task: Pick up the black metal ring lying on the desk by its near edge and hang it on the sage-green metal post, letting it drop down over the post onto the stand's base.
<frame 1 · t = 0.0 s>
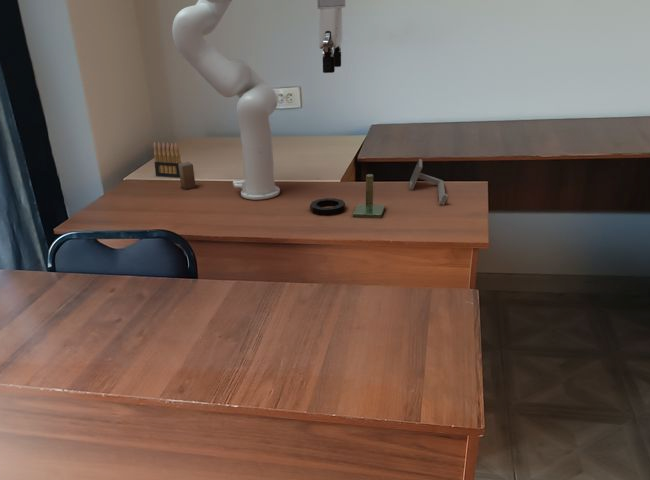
hand: (332, 69, 189), 37 cm above the table, tool pointing down, fingers open, 9 cm apart
post: (369, 212, 193), on the table
toilet paper hanger: (427, 193, 204), on the table
wooden block: (188, 187, 226), on the table
ammunition clip: (169, 176, 239), on the table
black ring: (327, 209, 197), on the table
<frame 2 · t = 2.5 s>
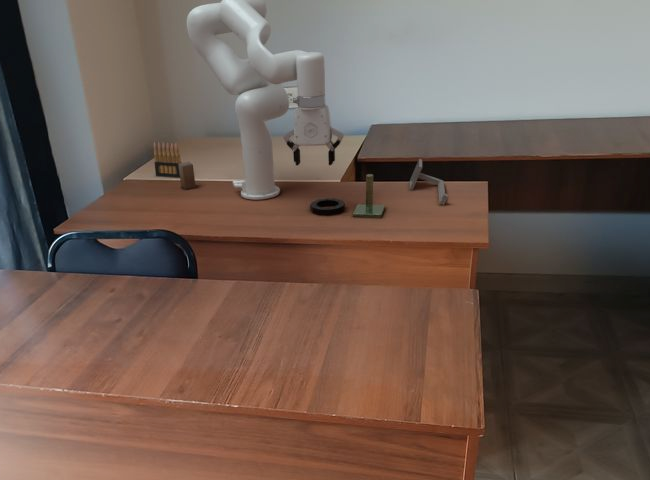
hand: (314, 164, 191), 13 cm above the table, tool pointing down, fingers open, 9 cm apart
nothing on the table moved.
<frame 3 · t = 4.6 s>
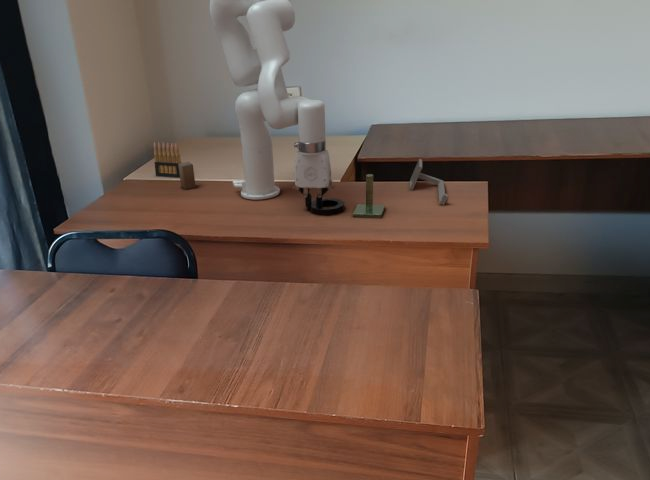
hand: (314, 208, 198), 0 cm above the table, tool pointing down, fingers closed on black ring, 2 cm apart
black ring: (327, 209, 197), on the table, touching gripper
everything else where it was.
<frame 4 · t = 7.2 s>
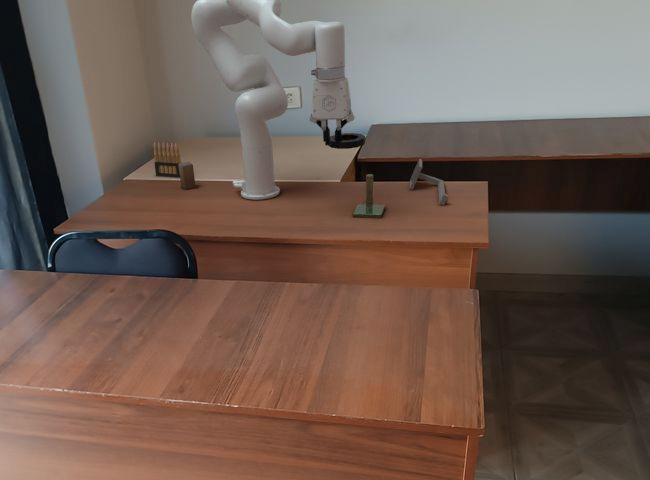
hand: (332, 143, 186), 19 cm above the table, tool pointing down, fingers closed on black ring
black ring: (346, 144, 185), point 19 cm above the table, touching gripper
everything else where it was.
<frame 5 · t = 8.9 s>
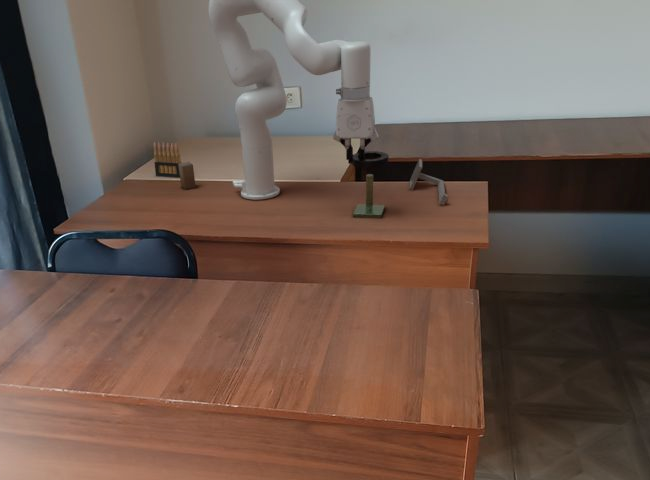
hand: (355, 161, 186), 15 cm above the table, tool pointing down, fingers closed on black ring
black ring: (369, 162, 185), point 15 cm above the table, touching gripper
everything else where it was.
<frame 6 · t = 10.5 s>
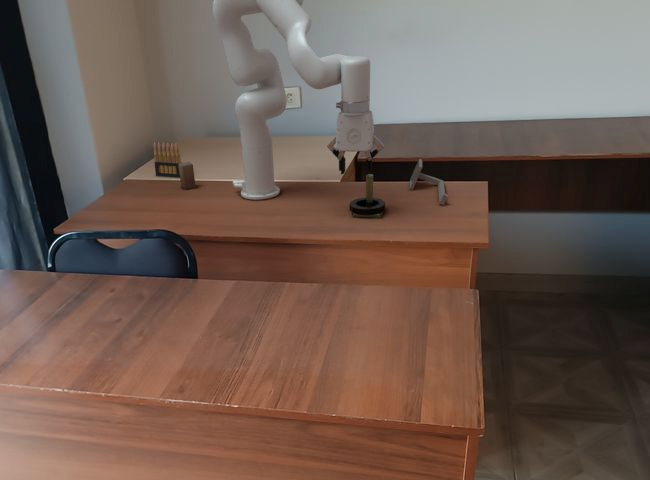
hand: (355, 172, 188), 12 cm above the table, tool pointing down, fingers open, 6 cm apart
black ring: (367, 209, 192), point 1 cm above the table, touching post
everything else where it was.
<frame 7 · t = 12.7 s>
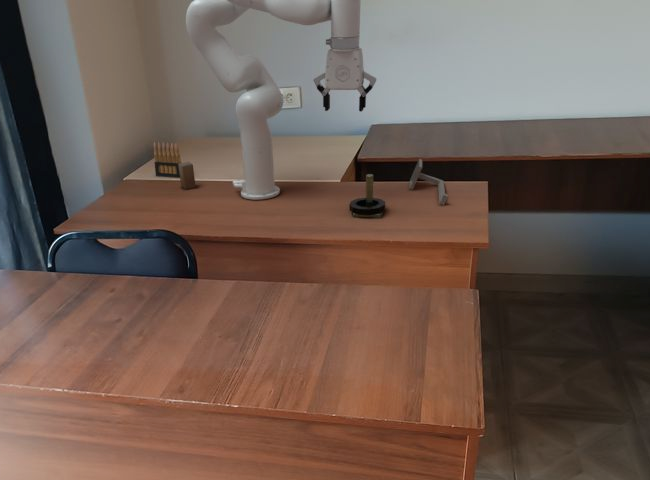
hand: (344, 110, 187), 27 cm above the table, tool pointing down, fingers open, 9 cm apart
nothing on the table moved.
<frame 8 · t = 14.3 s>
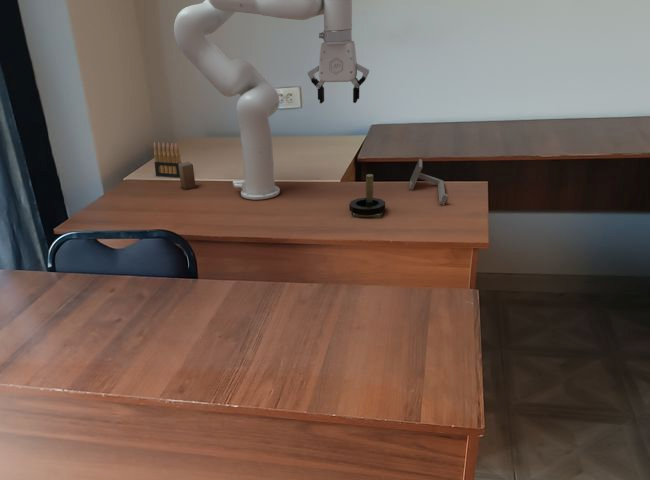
hand: (338, 102, 191), 28 cm above the table, tool pointing down, fingers open, 9 cm apart
nothing on the table moved.
at the end: black ring 0.6 cm from the post (horizontally); black ring point 1.0 cm above the table; the gripper is holding nothing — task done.
